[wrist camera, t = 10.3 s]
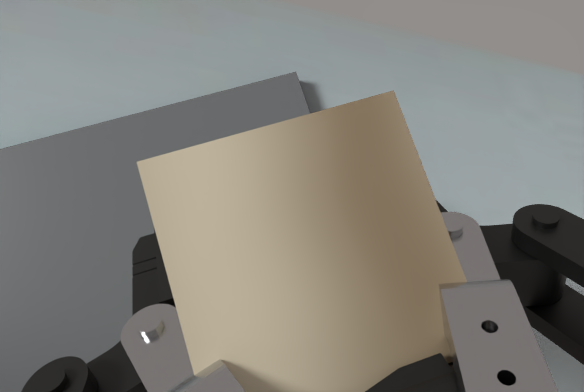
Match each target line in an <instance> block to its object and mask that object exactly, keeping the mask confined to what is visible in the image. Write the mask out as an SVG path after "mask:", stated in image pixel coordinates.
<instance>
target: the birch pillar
mask: <svg viewBox="0 0 584 392" xmlns="http://www.w3.org/2000/svg"><path fill="white" fill-rule="evenodd" d="M137 165H138V169H139V173H140V177H141V180H142V184H143V188H144V191H145V195H146V199H147V202H148V206H149V210H150V214H151V217H152V221H153V225H154V228H155V232H156V236H157V239H158V243H159V247H160V250H161V254H162V258H163V262H164V265H165V269H166V273H167V276H168V280H169V284H170V287H171V291H172V295H173V299H174V302H175V306H176V310H177V313H178V317H179V321H180V324H181V328H182V332H183V335H184V339H185V343H186V347H187V350H188V354H189V358H190V361H191V365H192V369H193V372H194V375H195V374H197V373H198V372H200V371H202V370H203V369H205V368H206V367H208V366H209V365H211V364H213V363H214V362H216V361H218V360H219V359H220V360H221V361H222V362H223V363H224V364H225V365H226V367H227V368H228V369H229V371H230V372H231V373H232V375H233V376H234V377H235V379H236V380H237V381H238V383H239V384H240V385H241V386H242V388H243V389H244V390H245V392H365V391H367V390H368V389H369V388H371V387H372V386H374V385H375V384H377V383H378V382H380V381H381V380H382V379H384V378H385V377H387V376H388V375H390V374H391V373H392V372H394V371H395V370H397V369H398V368H400V367H403V366H406V365H408V364H411V363H414V362H416V361H419V360H422V359H425V358H427V357H430V356H433V355H436V354H438V353H441V354H442V355H443V357H444V358H445V360H446V361H447V363H450V362H452V357H451V353H450V349H449V345H448V342H447V339H446V337H445V336H444V328H443V319H442V311H441V303H440V294H439V286H438V284H443V283H455V282H467V280H466V278H465V275H464V272H463V270H462V267H461V265H460V262H459V259H458V257H457V254H456V251H455V249H454V246H453V244H452V241H451V238H450V236H449V233H448V231H447V228H446V225H445V223H444V220H443V218H442V215H441V212H440V210H439V207H438V205H437V202H436V199H435V197H434V194H433V192H432V189H431V186H430V184H429V181H428V179H427V176H426V173H425V171H424V168H423V166H422V163H421V160H420V158H419V155H418V153H417V150H416V147H415V145H414V142H413V140H412V137H411V134H410V132H409V129H408V127H407V124H406V121H405V119H404V116H403V114H402V111H401V108H400V106H399V103H398V101H397V98H396V95H395V93H394V91H390V92H386V93H383V94H379V95H376V96H372V97H368V98H365V99H361V100H358V101H354V102H350V103H347V104H343V105H340V106H336V107H332V108H329V109H325V110H322V111H318V112H314V113H311V114H307V115H304V116H300V117H296V118H293V119H289V120H286V121H282V122H278V123H275V124H271V125H267V126H264V127H260V128H257V129H253V130H249V131H246V132H242V133H239V134H235V135H231V136H228V137H224V138H221V139H217V140H213V141H210V142H206V143H203V144H199V145H195V146H192V147H188V148H185V149H181V150H177V151H174V152H170V153H167V154H163V155H159V156H156V157H152V158H149V159H145V160H141V161H138V162H137Z"/></svg>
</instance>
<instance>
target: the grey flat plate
mask: <svg viewBox="0 0 584 392" xmlns="http://www.w3.org/2000/svg"><path fill="white" fill-rule="evenodd" d="M307 114H310V111H309V108H308V105H307V102H306V100H305V97H304V94H303V91H302V88H301V85H300V82H299V79H298V76H297V73H296V72H293V73H289V74H286V75H282V76H278V77H274V78H270V79H267V80H263V81H259V82H255V83H251V84H247V85H244V86H240V87H236V88H232V89H228V90H224V91H221V92H217V93H213V94H209V95H205V96H202V97H198V98H194V99H190V100H186V101H182V102H179V103H175V104H171V105H167V106H163V107H159V108H156V109H152V110H148V111H144V112H140V113H137V114H133V115H129V116H125V117H121V118H117V119H114V120H110V121H106V122H102V123H98V124H94V125H91V126H87V127H83V128H79V129H75V130H72V131H68V132H64V133H60V134H56V135H52V136H49V137H45V138H41V139H37V140H33V141H29V142H26V143H22V144H18V145H14V146H10V147H7V148H3V149H0V392H21V391H22V389H23V387H24V386H25V384H26V382H27V381H28V380H29V378H30V377H31V376H32V375H33V374H34V373H35V372H36V371H37V370H39V369H40V368H41V367H43V366H44V365H46V364H47V363H49V362H51V361H53V360H55V359H58V358H61V357H67V356H74V357H78V358H81V359H82V360H83V361H84V362H85V363H86V364H87V363H88V362H90V361H92V360H93V359H95V358H96V357H98V356H100V355H101V354H103V353H105V352H106V351H108V350H109V349H111V348H112V347H114V346H115V345H116V344H117V343H118V342H119V341H120V340H121V338H120V337H121V332H122V329H123V327H124V325H125V324H126V322H127V321H128V320H129V319H130V318H131V317H132V278H133V275H132V267H133V265H132V251H133V249H134V247H135V245H136V244H137V242H138V240H139V238H140V237H143V236H146V235H150V234H153V233H154V225H153V221H152V217H151V214H150V210H149V206H148V202H147V199H146V195H145V191H144V188H143V184H142V180H141V177H140V173H139V169H138V165H137V162H138V161H141V160H145V159H149V158H152V157H156V156H159V155H163V154H167V153H170V152H174V151H177V150H181V149H185V148H188V147H192V146H195V145H199V144H203V143H206V142H210V141H213V140H217V139H221V138H224V137H228V136H231V135H235V134H239V133H242V132H246V131H249V130H253V129H257V128H260V127H264V126H267V125H271V124H275V123H278V122H282V121H286V120H289V119H293V118H296V117H300V116H304V115H307Z"/></svg>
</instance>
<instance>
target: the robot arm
mask: <svg viewBox="0 0 584 392" xmlns="http://www.w3.org/2000/svg"><path fill="white" fill-rule="evenodd" d="M436 202H437V205H438V207H439V210H440V212H441V215H442V218H443V220H444V223H445V225H446V228H447V231H448V233H449V236H450V238H451V241H452V244H453V246H454V249H455V251H456V254H457V257H458V259H459V262H460V265H461V267H462V270H463V272H464V275H465V278H466V280H467V282H455V283H443V284H438V286H439V294H440V303H441V311H442V319H443V328H444V336H445V337H446V339H447V342H448V345H449V349H450V353H451V357H452V362H450V363H447V361H446V360H445V358H444V357H443V355H442V354H441V353H438V354H436V355H433V356H430V357H427V358H425V359H422V360H419V361H416V362H414V363H411V364H408V365H406V366H403V367H400V368H398V369H397V370H395V371H394V372H392V373H391V374H390V375H388V376H387V377H385V378H384V379H382V380H381V381H380V382H378V383H377V384H375V385H374V386H372V387H371V388H369V389H368V390H367V391H365V392H558V390H557V388H556V385H555V383H554V380H553V378H552V376H551V373H550V371H549V368H548V366H547V364H546V361H545V359H544V357H543V354H542V352H541V349H540V347H539V345H538V342H537V340H536V337H535V335H534V333H533V330H532V328H531V326H532V327H533V328H535V329H536V330H537V331H539V332H540V333H541V334H543V335H544V336H546V337H547V338H548V339H550V340H551V341H552V342H554V343H555V344H556V345H558V346H559V347H560V348H562V349H563V350H565V351H566V352H567V353H569V354H570V355H571V356H573V357H574V358H575V359H577V360H578V361H579V362H581V363H582V364H584V296H583V295H582V294H580V293H578V292H577V291H575V290H574V289H572V288H570V287H569V286H567V285H566V284H565V282H566V278H569V279H571V280H572V281H574V282H576V283H577V284H579V285H580V286H582V287H584V219H582V218H580V217H578V216H576V215H574V214H572V213H570V212H568V211H566V210H563V209H561V208H558V207H555V206H551V205H544V204H535V205H528V206H525V207H523V208H521V209H519V210H518V211H517V212H516V213H515V215H514V218H513V224H504V225H491V226H479V224H478V223H477V222H476V221H475V220H474V219H473V218H471V217H469V216H467V215H465V214H461V213H456V212H447V210H446V209H445V208H444V207H443V206H442V205H441V204H440V203H439V202H438V201H437V200H436ZM132 265H133V267H132V275H133V278H132V317H131V318H130V319H129V320H128V321H127V322H126V324H125V325H124V327H123V329H122V332H121V337H120V338H121V340H120V341H119V342H118V343H117V344H116V345H115V346H114V347H112V348H111V349H109V350H108V351H106V352H105V353H103V354H101V355H100V356H98V357H96V358H95V359H93V360H92V361H90V362H88V363H87V364H86V363H85V362H84V361H83V360H82V359H81V358H78V357H74V356H67V357H61V358H58V359H55V360H53V361H51V362H49V363H47V364H46V365H44V366H43V367H41V368H40V369H39V370H37V371H36V372H35V373H34V374H33V375H32V376H31V377H30V378H29V380H28V381H27V382H26V384H25V386H24V387H23V389H22V391H21V392H245V390H244V389H243V388H242V386H241V385H240V384H239V383H238V381H237V380H236V379H235V377H234V376H233V375H232V373H231V372H230V371H229V369H228V368H227V367H226V365H225V364H224V363H223V362H222V361H221V360H220V359H219V360H218V361H216V362H214V363H213V364H211V365H209V366H208V367H206V368H205V369H203V370H202V371H200V372H198V373H197V374H195V375H194V372H193V369H192V365H191V361H190V358H189V354H188V350H187V347H186V343H185V339H184V335H183V332H182V328H181V324H180V321H179V317H178V313H177V310H176V306H175V302H174V299H173V295H172V291H171V287H170V284H169V280H168V276H167V273H166V269H165V265H164V262H163V258H162V254H161V250H160V247H159V243H158V239H157V236H156V232H155V228H154V233H153V234H150V235H146V236H143V237H140V238H139V240H138V242H137V244H136V245H135V247H134V249H133V251H132ZM530 325H531V326H530Z"/></svg>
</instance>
